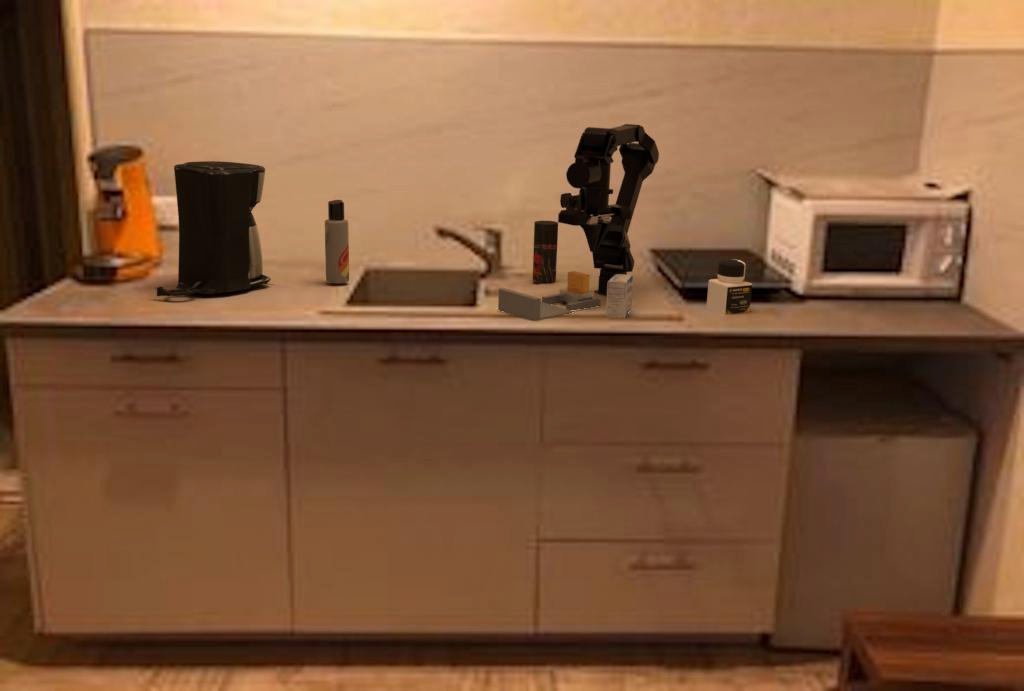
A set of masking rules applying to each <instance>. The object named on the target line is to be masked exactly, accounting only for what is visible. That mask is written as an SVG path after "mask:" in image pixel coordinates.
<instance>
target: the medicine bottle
mask: <svg viewBox="0 0 1024 691" xmlns="http://www.w3.org/2000/svg"><path fill="white" fill-rule="evenodd" d="M717 264H718V265H717V266H718V267H717V274H716V275H717V278H712V279H708V285H707V286H708V287H707V296H706V297H707V298H706V309H708V310H710V311H713V312H717V313H720V314H723V315H733V314H734V315H735V314H744V313H749V312H750V310H751V301H752V290H753V289H752V288H753V283H751V282H748V281H745V275H746V266H747V265H746V263H745V262H744V261H742V260H740V259H734V258H725V259H722V260H719V262H718V263H717Z"/></svg>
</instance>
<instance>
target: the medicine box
mask: <svg viewBox="0 0 1024 691" xmlns="http://www.w3.org/2000/svg"><path fill="white" fill-rule="evenodd" d="M633 282H634V275H631V274H627V275H625V274H614V276H613V277H612V278H611V279H610V280H609V281H608V284H607V296H606V305H605V306H606V308H605V309H606V310H605V311H606V312H605V317H606V318H616V317H618V318H619V319H626V318H627V317H626V315H627V314H628V312H629V311H630V310H631V311H632V302H633V300H632V299H633ZM628 315H629V314H628ZM607 316H608V317H607ZM623 317H624V318H623ZM625 317H626V318H625Z"/></svg>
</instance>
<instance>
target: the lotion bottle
mask: <svg viewBox="0 0 1024 691" xmlns="http://www.w3.org/2000/svg"><path fill="white" fill-rule="evenodd" d="M327 204H328V206H327V208H328V212H327V214H328V219H325V220H324V246H325V247H324V248H325V249H324V250H325V251H324V252H325V253H324V254H325V280H326V281H325V282H326V283H330V284H344V283H348V282H349V281H350V246H349V240H350V239H349V238H350V237H349V221H348V219H345V202H343V200H342V199H333V200H329V201H328V202H327Z"/></svg>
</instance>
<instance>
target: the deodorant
mask: <svg viewBox="0 0 1024 691" xmlns="http://www.w3.org/2000/svg"><path fill="white" fill-rule="evenodd" d="M558 237H559V222H558V221H554V220H535V221H534V228H533V256H532V282H533V283H536V284H541V285H542V284H544V285H545V284H546V285H547V284H548V285H549V284H554V283H556V282H557V264H558V263H557V261H558V242H559V241H558V239H559V238H558Z"/></svg>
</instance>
